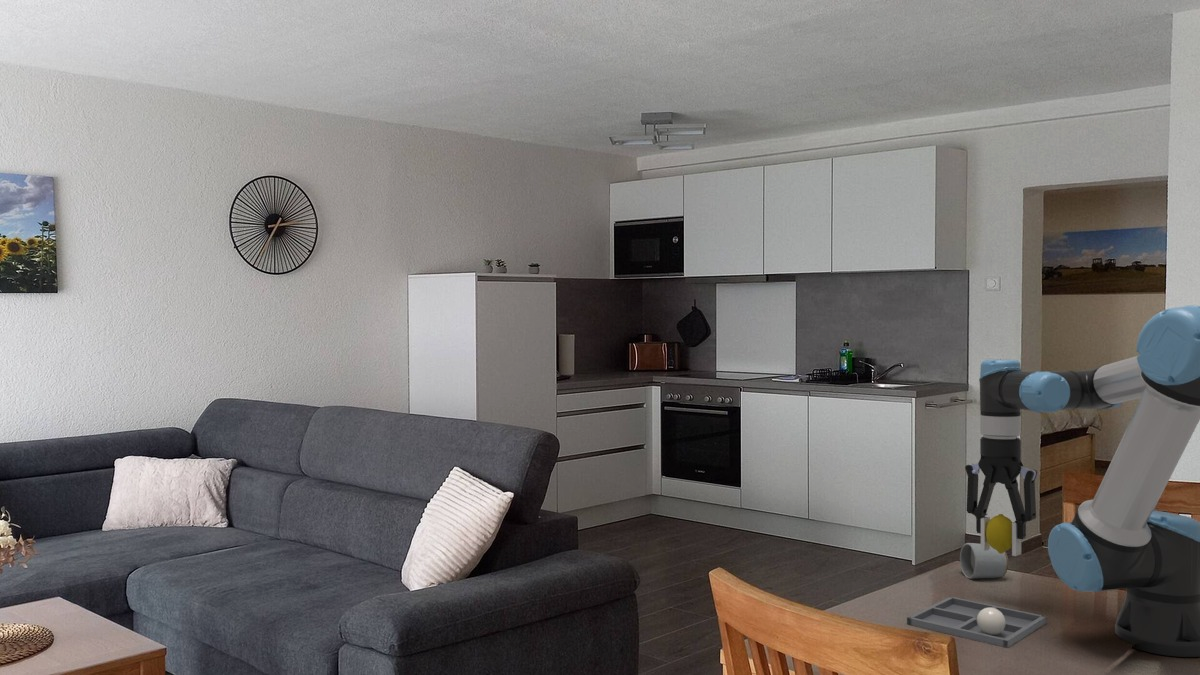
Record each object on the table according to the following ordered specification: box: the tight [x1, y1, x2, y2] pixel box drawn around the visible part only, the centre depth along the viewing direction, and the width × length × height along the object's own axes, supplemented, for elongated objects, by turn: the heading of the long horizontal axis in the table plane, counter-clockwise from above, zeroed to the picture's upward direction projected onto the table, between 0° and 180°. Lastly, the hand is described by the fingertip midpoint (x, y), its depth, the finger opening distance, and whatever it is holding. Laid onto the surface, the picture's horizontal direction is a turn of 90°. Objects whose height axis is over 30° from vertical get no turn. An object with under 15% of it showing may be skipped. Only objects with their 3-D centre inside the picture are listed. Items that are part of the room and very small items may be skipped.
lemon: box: [986, 513, 1014, 554], centre depth 193 cm, size 6×6×8 cm
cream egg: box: [977, 607, 1006, 635], centre depth 172 cm, size 5×5×5 cm
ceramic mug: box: [959, 542, 1009, 580], centre depth 215 cm, size 11×8×8 cm
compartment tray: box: [906, 596, 1048, 649], centre depth 178 cm, size 18×18×2 cm
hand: (1000, 552), depth 193 cm, fingers closed on lemon, 5 cm apart
